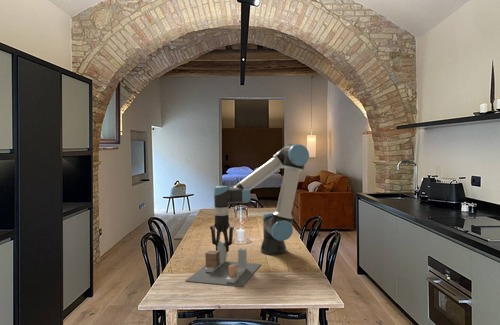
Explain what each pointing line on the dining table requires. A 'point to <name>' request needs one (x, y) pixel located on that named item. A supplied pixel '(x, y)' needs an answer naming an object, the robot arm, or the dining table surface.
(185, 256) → the dining table surface
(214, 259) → the block
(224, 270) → the mat
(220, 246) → the grey stepped bracket
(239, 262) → the broken strip
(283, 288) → the dining table surface
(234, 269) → the peach egg shape
